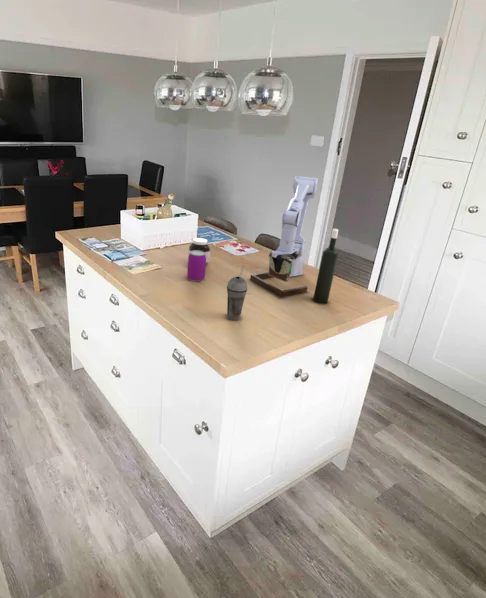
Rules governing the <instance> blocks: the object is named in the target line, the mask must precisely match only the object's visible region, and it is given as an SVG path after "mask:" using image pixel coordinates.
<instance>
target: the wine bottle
mask: <svg viewBox="0 0 486 598" xmlns="http://www.w3.org/2000/svg"><path fill="white" fill-rule="evenodd" d="M339 231H340V230H339V228H332V230H331V235H330V241H329V246H328V247H326V248H324V249H323V251H322V253H321V254H322V255H321V259H320V265H319V269H318V274H317V280H316V284H315V288H314V293H313V298H312V301H313V302H314V303H317V304H320V305H326V304H328V302H329V298H330V294H331V289H332V285H333V279H334V277H335V276H334V275H335V271H336V267H337V261H338V257H339V251H338V249H336V244H337V243H336V242H337V239H338V235H339Z"/></svg>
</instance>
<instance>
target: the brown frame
mask: <svg viewBox="0 0 486 598" xmlns="http://www.w3.org/2000/svg"><path fill="white" fill-rule="evenodd" d="M249 278H250V279H249V280H250V281H251V282H253V283H255V284H256V285H258V286H260V287H261V288H263V289H264V290H266V291H268V292H270V293H272V294H274V295H275V296H277V297H279V298H286V297H290V296H295V295H300V294H305V293H307V292H308V288H309V287H308V286H307V285H304V286H298V287H293V288H289V289H288V288H287V289H284V290H281V289H280V288H278V287H277V286H274V285H273V284H272V283H269V282H267V281H266V279H270V278H273V277H272V276H270V275H269V271H267V272H266V271H264V272H260V273H252V274H250V277H249Z"/></svg>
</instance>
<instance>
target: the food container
mask: <svg viewBox="0 0 486 598" xmlns="http://www.w3.org/2000/svg"><path fill="white" fill-rule="evenodd" d="M272 252H273V251H270V252H269V253H268V257H269V260H268V261H269V262H268V272H269V275H270V276H272V277H271V278H275V279H277V280H280V281H282V282H284V283H287V282H289V280H290V278H291V277H290V273H291V269H292V266H293V265H294V264H295V259H294V256H292V255H290V254H287V255H282V256H281V257H282V258H284V261H283V263H282V265H281V269H280V272H279V273H277V272H275V268H274V262H273V259H272Z"/></svg>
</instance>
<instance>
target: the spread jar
mask: <svg viewBox="0 0 486 598" xmlns="http://www.w3.org/2000/svg"><path fill="white" fill-rule="evenodd" d="M194 250H199V251H203V252H205V256H206V265H207V264H208V263H209V262H210V258H211V248H210V246H209V244H208V239H207V238H203V237H195V238H193V239H192V243H191V244H190V245H189V246H188V252H187V254H188V255H187V257H188V256H189V254H190V252H191V251H194Z"/></svg>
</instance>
